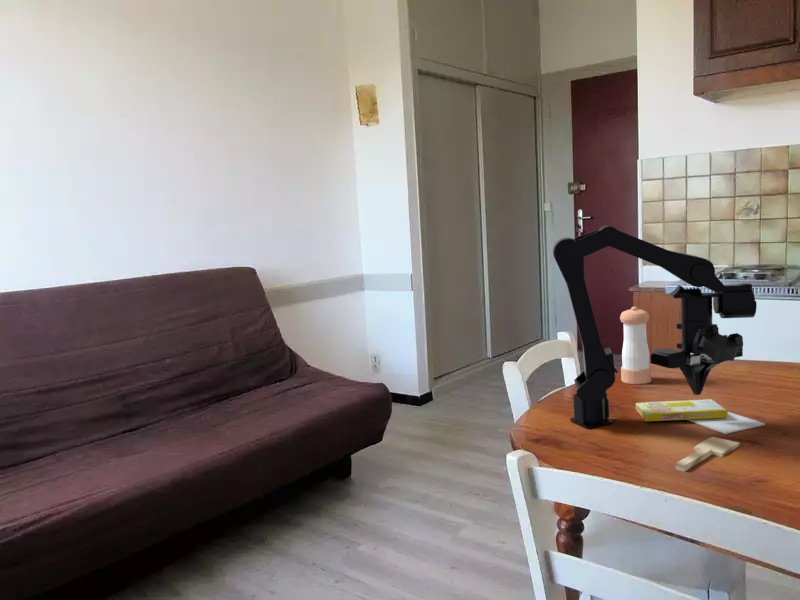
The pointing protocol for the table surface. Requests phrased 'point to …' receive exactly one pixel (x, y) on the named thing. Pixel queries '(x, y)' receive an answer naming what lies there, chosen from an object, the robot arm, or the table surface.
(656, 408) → the candy box
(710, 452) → the wooden turner
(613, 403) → the table surface
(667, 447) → the table surface
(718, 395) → the table surface
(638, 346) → the pepper shaker
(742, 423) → the felt mat
